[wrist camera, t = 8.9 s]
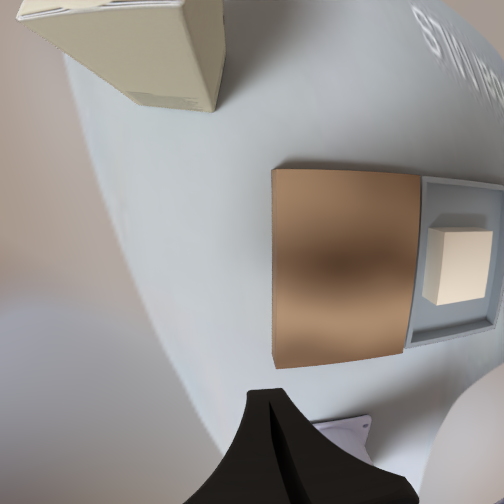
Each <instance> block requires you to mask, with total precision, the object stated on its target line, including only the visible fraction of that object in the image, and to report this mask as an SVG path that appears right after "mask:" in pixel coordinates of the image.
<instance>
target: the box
mask: <svg viewBox="0 0 504 504" xmlns="http://www.w3.org/2000/svg"><path fill="white" fill-rule="evenodd" d="M16 20H17V21H18V22H19V23H21V24H22V25H24V26H26V27H27V28H28V29H30V30H31V31H33V32H34V33H36V34H38V35H39V36H41V37H42V38H44V39H45V40H46V41H48V42H50V43H51V44H52V45H54V46H55V47H57V48H58V49H60V50H61V51H63V52H64V53H66V54H67V55H69V56H70V57H72V58H73V59H75V60H76V61H78V62H79V63H80V64H82V65H83V66H85V67H86V68H88V69H89V70H90V71H92V72H93V73H95V74H96V75H97V76H99V77H100V78H102V79H103V80H105V81H106V82H107V83H109V84H110V85H112V86H113V87H114V88H116V89H117V90H119V91H120V92H121V93H123V94H124V95H125V96H127V97H128V98H129V99H131V100H132V101H133V102H135V103H136V104H138V105H143V106H151V107H161V108H171V109H180V110H190V111H200V112H209V113H212V112H214V111H215V107H216V102H217V97H218V93H219V88H220V83H221V78H222V73H223V68H224V62H225V56H226V46H225V29H224V15H223V0H23V2H22V4H21V7H20V9H19V11H18V14H17V16H16Z"/></svg>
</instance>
